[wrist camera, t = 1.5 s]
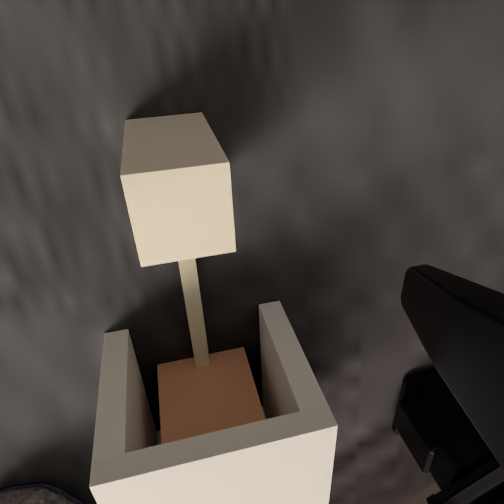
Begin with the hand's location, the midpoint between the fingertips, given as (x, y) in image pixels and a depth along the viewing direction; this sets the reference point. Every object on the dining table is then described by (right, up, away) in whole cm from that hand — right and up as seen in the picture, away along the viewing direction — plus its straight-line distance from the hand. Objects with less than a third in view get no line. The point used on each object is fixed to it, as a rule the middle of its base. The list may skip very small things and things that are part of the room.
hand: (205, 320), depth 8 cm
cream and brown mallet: (-2, -1, +13) cm, 13 cm away
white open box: (-2, -6, +16) cm, 17 cm away
